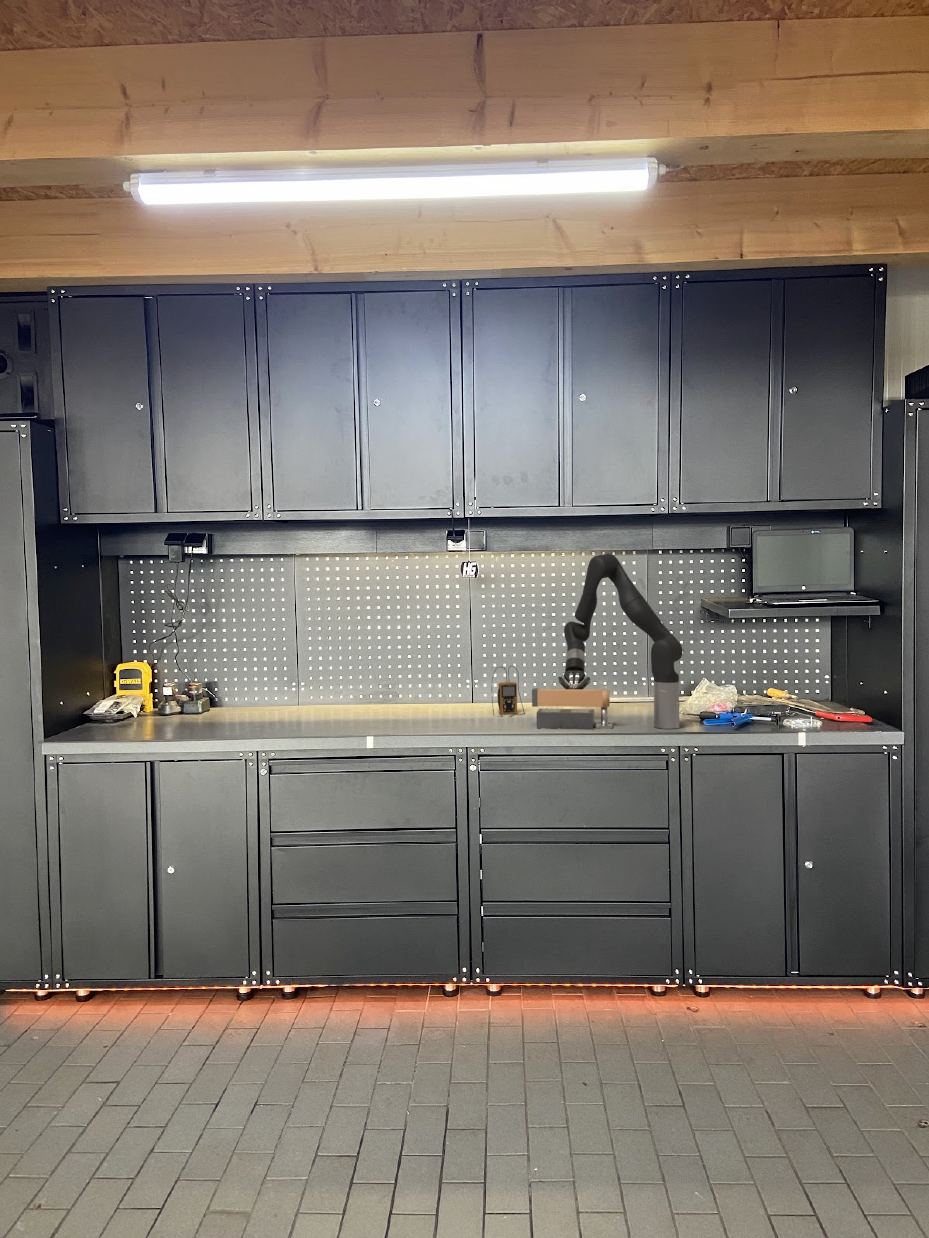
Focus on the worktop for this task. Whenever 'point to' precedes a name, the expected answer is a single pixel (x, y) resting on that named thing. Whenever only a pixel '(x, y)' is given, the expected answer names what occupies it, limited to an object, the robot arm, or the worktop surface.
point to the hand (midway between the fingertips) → (573, 697)
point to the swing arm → (570, 698)
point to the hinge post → (604, 720)
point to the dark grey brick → (565, 718)
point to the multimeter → (507, 696)
